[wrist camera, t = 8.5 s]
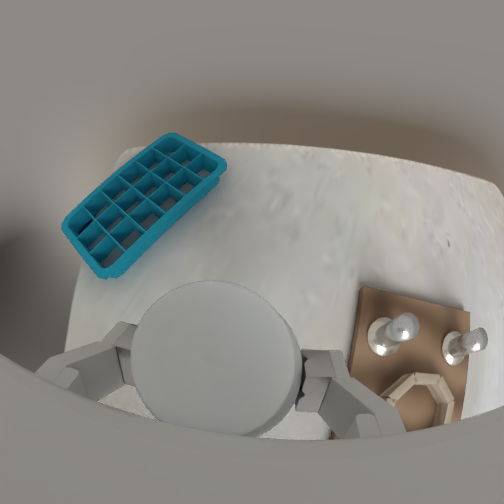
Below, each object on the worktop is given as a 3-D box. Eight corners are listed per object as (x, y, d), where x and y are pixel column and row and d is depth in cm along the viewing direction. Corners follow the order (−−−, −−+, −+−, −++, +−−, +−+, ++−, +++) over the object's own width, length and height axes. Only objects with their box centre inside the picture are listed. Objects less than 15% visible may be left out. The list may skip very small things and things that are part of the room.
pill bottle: (197, 428, 13) (131, 478, 4) (176, 340, 15) (95, 279, 7) (291, 405, 14) (353, 431, 5) (265, 319, 16) (287, 234, 7)
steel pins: (462, 366, 23) (491, 358, 19) (363, 353, 24) (387, 344, 20) (464, 334, 25) (491, 322, 20) (369, 315, 26) (391, 299, 22)
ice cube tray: (232, 179, 36) (231, 163, 33) (114, 293, 28) (103, 283, 25) (174, 145, 39) (170, 130, 36) (68, 236, 31) (58, 224, 28)
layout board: (441, 469, 18) (457, 473, 15) (319, 473, 20) (328, 482, 17) (464, 314, 27) (479, 307, 24) (359, 290, 29) (371, 279, 26)
